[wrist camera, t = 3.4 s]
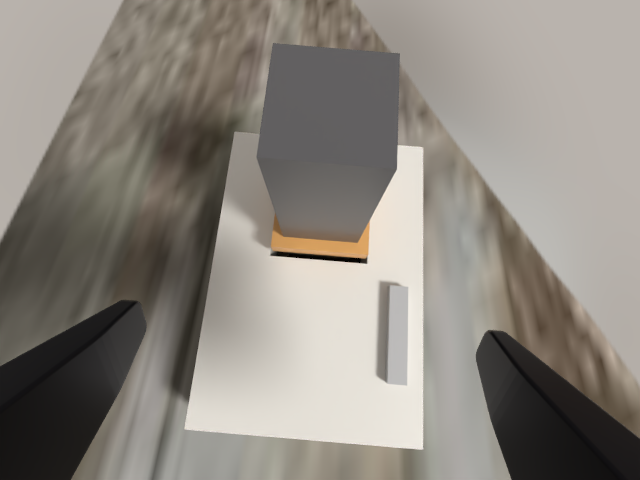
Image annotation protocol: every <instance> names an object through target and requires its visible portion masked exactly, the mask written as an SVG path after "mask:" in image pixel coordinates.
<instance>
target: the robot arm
mask: <svg viewBox="0 0 640 480" xmlns="http://www.w3.org/2000/svg"><path fill="white" fill-rule="evenodd" d="M145 332H146V320H145V317H144V313H143V309H142V306H141V304H140V302H139V301H134V300H121V301H119V302H117V303H115V304H113V305H111V306H110V307H108V308H106V309H104V310H102V311H100V312H99V313H97V314H95V315H93V316H91V317H90V318H88V319H86V320H84V321H82V322H80V323H79V324H77V325H75V326H73V327H71V328H69V329H68V330H66V331H64V332H62V333H60V334H58V335H57V336H55V337H53V338H51V339H49V340H47V341H46V342H44V343H42V344H40V345H38V346H37V347H35V348H33V349H31V350H29V351H27V352H26V353H24V354H22V355H20V356H18V357H16V358H15V359H13V360H11V361H9V362H7V363H5V364H4V365H2V366H0V480H71V478H72V476H73V475H74V473H75V471H76V469H77V467H78V466H79V464H80V462H81V460H82V458H83V457H84V455H85V453H86V451H87V449H88V448H89V446H90V444H91V442H92V440H93V439H94V437H95V435H96V433H97V431H98V430H99V428H100V426H101V424H102V422H103V421H104V419H105V417H106V415H107V413H108V412H109V410H110V408H111V406H112V404H113V403H114V401H115V399H116V397H117V395H118V393H119V392H120V390H121V388H122V385H123V383H124V381H125V379H126V377H127V374H128V372H129V370H130V367H131V365H132V363H133V360H134V358H135V356H136V353H137V351H138V349H139V346H140V344H141V342H142V339H143V337H144V335H145ZM476 362H477V366H478V370H479V374H480V378H481V383H482V387H483V391H484V395H485V399H486V403H487V408H488V411H489V415H490V419H491V422H492V425H493V428H494V431H495V434H496V437H497V439H498V442H499V445H500V448H501V451H502V454H503V457H504V459H505V462H506V465H507V468H508V471H509V474H510V476H511V479H512V480H640V438H639V437H637V436H636V435H635V434H634V433H632V432H631V431H630V430H629V429H627V428H626V427H625V426H623V425H622V424H621V423H620V422H618V421H617V420H616V419H615V418H613V417H612V416H611V415H610V414H608V413H607V412H606V411H605V410H603V409H602V408H601V407H599V406H598V405H597V404H596V403H594V402H593V401H592V400H591V399H589V398H588V397H587V396H586V395H584V394H583V393H582V392H580V391H579V390H578V389H577V388H575V387H574V386H573V385H572V384H570V383H569V382H568V381H567V380H565V379H564V378H563V377H562V376H560V375H559V374H558V373H556V372H555V371H554V370H553V369H551V368H550V367H549V366H548V365H546V364H545V363H544V362H543V361H541V360H540V359H539V358H537V357H536V356H535V355H534V354H532V353H531V352H530V351H529V350H527V349H526V348H525V347H524V346H522V345H521V344H520V343H519V342H517V341H516V340H515V339H513V338H512V337H511V336H510V335H508V334H507V333H506V332H503V331H496V330H488V331H486V332H485V334H484V336H483V338H482V340H481V342H480V345H479V347H478V349H477V352H476Z"/></svg>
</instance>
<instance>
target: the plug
mask: <svg viewBox="0 0 640 480" xmlns="http://www.w3.org/2000/svg"><path fill="white" fill-rule="evenodd" d="M399 60H400V54H398V53H385V52H373V51H361V50H349V49H337V48H325V47H312V46H300V45H288V44H276V43H273V47H272V53H271V60H270V67H269V74H268V81H267V88H266V95H265V102H264V108H263V115H262V122H261V129H260V136H259V143H258V150H257V156H256V158H257V161H258V164H259V167H260V170H261V173H262V175H263V178H264V181H265V184H266V187H267V190H268V193H269V196H270V199H271V202H272V205H273V208H274V211H275V216H274V225H273V233H272V241H271V248H272V250H273V251H281V252H289V255H301V256H313V257H325V258H337V259H349V258H350V257H352V258H364V259H366V257H367V256H368V251H369V229H370V219H371V217H372V215H373V213H374V211H375V209H376V208H377V206H378V204H379V202H380V200H381V198H382V196H383V194H384V193H385V191H386V189H387V187H388V185H389V183H390V181H391V179H392V178H393V176H394V174H395V172H396V170H397V149H398V104H399Z"/></svg>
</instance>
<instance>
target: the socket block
mask: <svg viewBox="0 0 640 480" xmlns="http://www.w3.org/2000/svg"><path fill="white" fill-rule="evenodd" d="M259 136H260V134H256V133H244V132H234V138H233V144H232V150H231V156H230V162H229V168H228V174H227V180H226V186H225V192H224V198H223V203H222V209H221V215H220V221H219V227H218V233H217V239H216V245H215V251H214V257H213V263H212V269H211V275H210V281H209V287H208V292H207V298H206V304H205V310H204V316H203V322H202V328H201V334H200V340H199V346H198V352H197V358H196V364H195V370H194V376H193V381H192V387H191V393H190V399H189V405H188V411H187V417H186V423H185V430H196V431H208V432H220V433H232V434H244V435H255V436H267V437H279V438H291V439H303V440H314V441H326V442H338V443H350V444H361V445H373V446H385V447H397V448H409V449H420V450H423V147H413V146H401V145H398V149H397V170H396V172H395V174H394V176H393V178H392V179H391V181H390V183H389V185H388V187H387V189H386V191H385V193H384V194H383V196H382V198H381V200H380V202H379V204H378V206H377V208H376V209H375V211H374V213H373V215H372V217H371V219H370V229H369V251H368V256H367V257H366V259H364V258H361V263H350V262H339V261H327V260H315V259H303V258H291V257H279V256H277V251H273V250H272V248H271V241H272V233H273V225H274V216H275V211H274V208H273V205H272V202H271V199H270V196H269V193H268V190H267V187H266V184H265V181H264V178H263V175H262V173H261V170H260V167H259V164H258V161H257V158H256V156H257V150H258V143H259Z"/></svg>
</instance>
